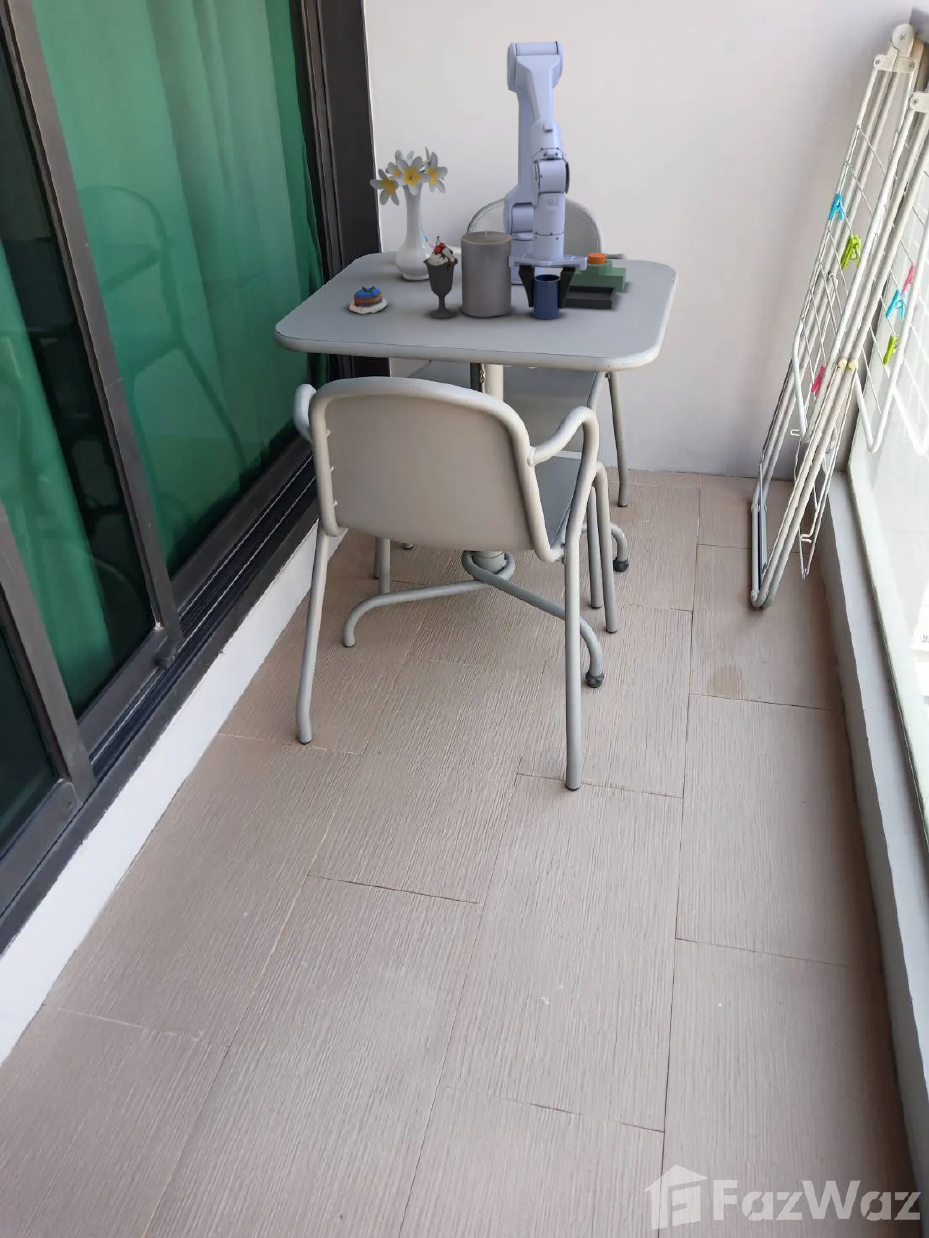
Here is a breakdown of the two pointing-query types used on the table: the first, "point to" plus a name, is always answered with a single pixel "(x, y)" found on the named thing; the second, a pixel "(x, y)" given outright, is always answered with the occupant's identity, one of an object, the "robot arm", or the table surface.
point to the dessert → (368, 301)
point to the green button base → (600, 275)
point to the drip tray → (590, 296)
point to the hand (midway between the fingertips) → (546, 306)
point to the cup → (546, 296)
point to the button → (596, 258)
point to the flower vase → (411, 206)
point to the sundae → (441, 276)
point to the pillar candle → (486, 273)
